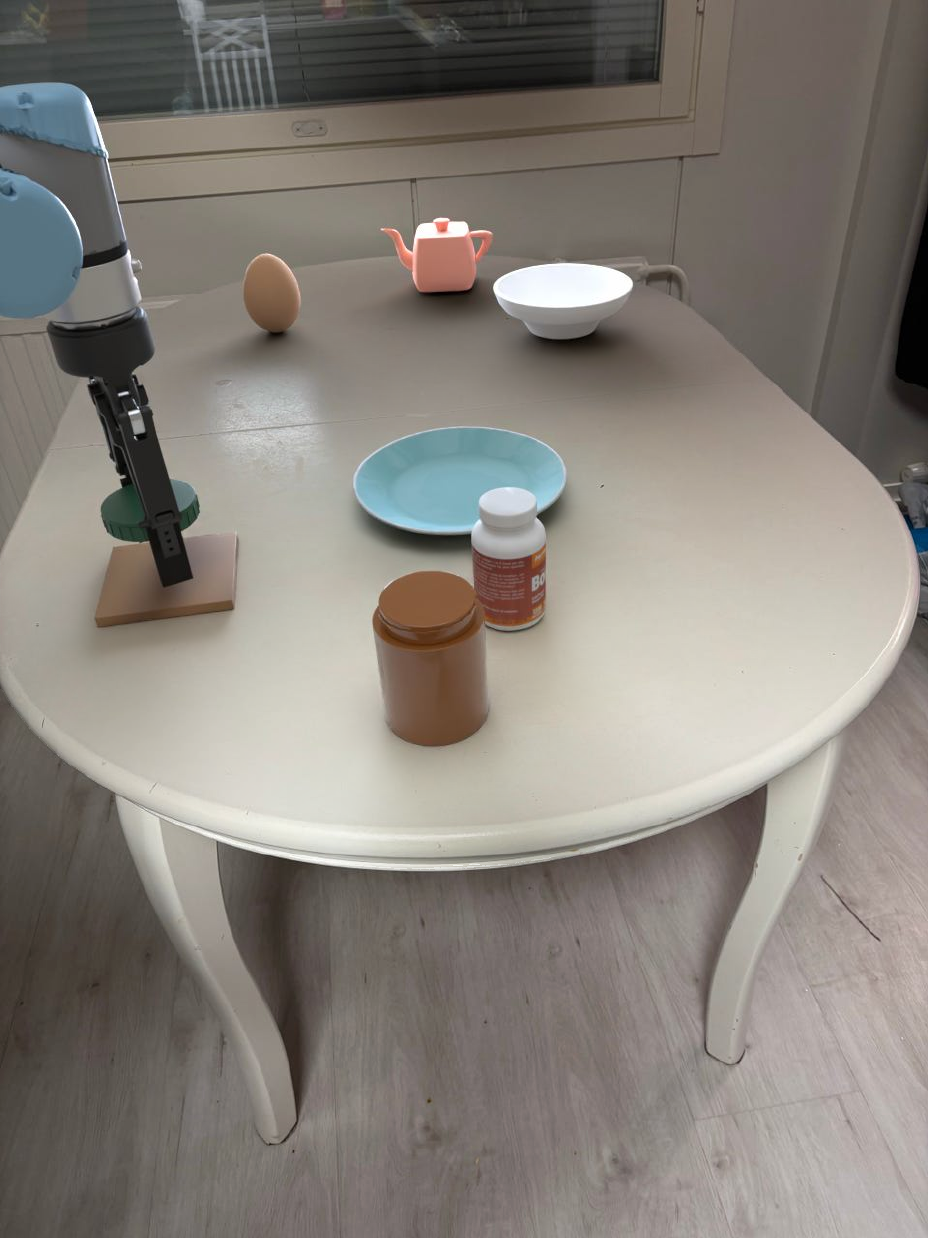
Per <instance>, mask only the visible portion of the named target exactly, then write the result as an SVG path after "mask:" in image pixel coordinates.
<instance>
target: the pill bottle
mask: <svg viewBox="0 0 928 1238" xmlns="http://www.w3.org/2000/svg"><path fill="white" fill-rule="evenodd" d="M537 516H538V515H537V500H536V497H535V496H534V495H533V494H532V493H531V492H529V491H527V490H524V489H520V488H514V487H504V488H497V489H494V490H491V491H488V492H486V493H485V494H483V495H482V496H481V498H480V500H479V517H480V519H479V520H478V521H477V522H476V524H475V525H474V527H473V530H472V534H470V536H471V538H470V539H471V541H470V542H471V544H470V545H471V558H472V559H471V561H472V575H473V576H472V579H473V589H475V590H476V593H477V598H478V600H479V601H480V602H481V604H482V606H483V608H484V612H485V626H488V627H490V628H491V629H495V630H498V631H504V632H505V631H507V632H509V631H519V630H523V629H527V628H530V627H532V626H534V625H536V624H537V623H538V622H539V621H540V620H541V619H542V618H543V617H544V615H545V613H546V607H547V606H546V605H547V598H546V597H547V533H546V529H545V525H544V524H543V523H542V521H541V520H540V519H538V518H537Z"/></svg>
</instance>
